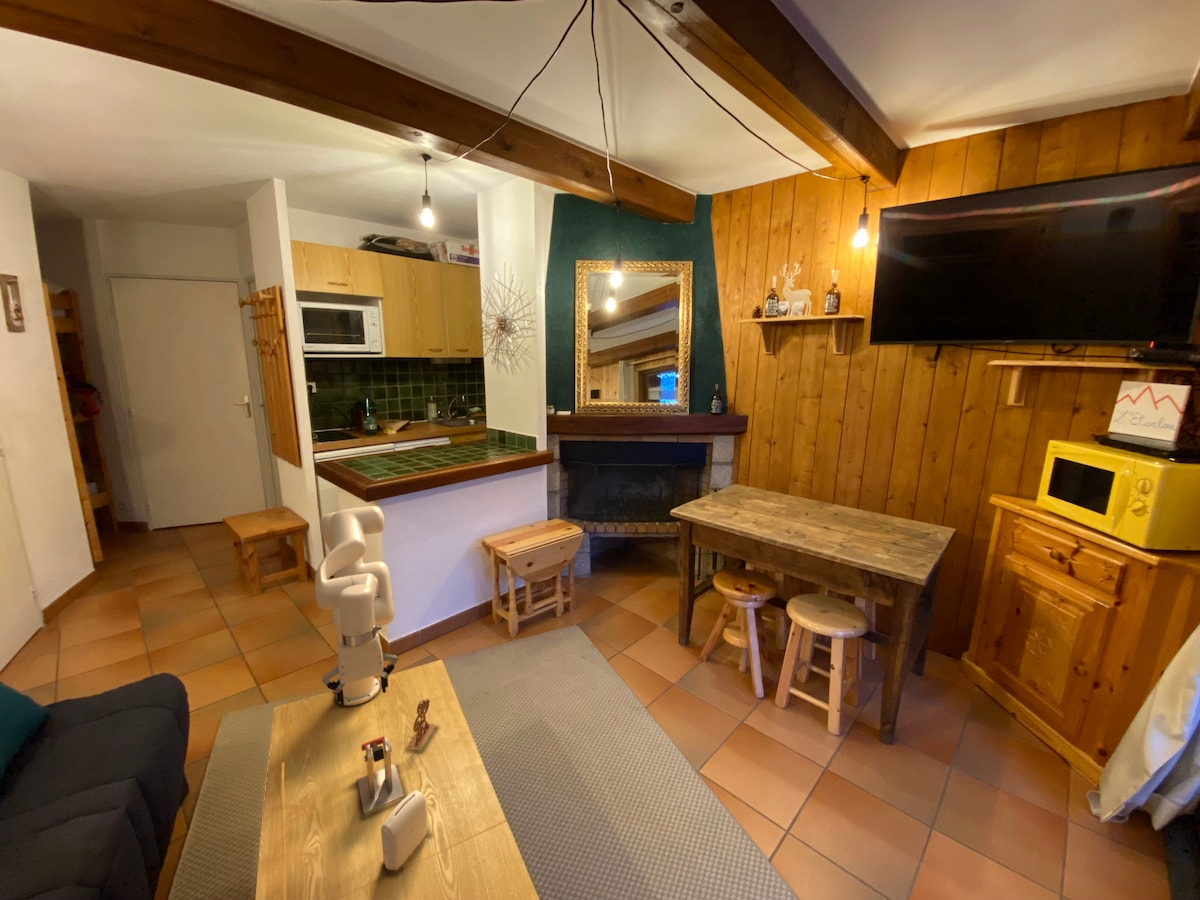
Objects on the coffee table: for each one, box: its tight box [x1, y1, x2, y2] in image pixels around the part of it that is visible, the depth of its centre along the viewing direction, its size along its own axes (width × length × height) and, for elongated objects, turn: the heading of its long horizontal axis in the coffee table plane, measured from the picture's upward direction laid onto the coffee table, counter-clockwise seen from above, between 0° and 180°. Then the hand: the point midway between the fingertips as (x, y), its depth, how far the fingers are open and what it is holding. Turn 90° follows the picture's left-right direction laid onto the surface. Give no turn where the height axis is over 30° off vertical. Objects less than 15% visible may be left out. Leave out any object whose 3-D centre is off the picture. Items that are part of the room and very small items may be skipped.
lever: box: [360, 735, 385, 763], centre depth 122 cm, size 12×6×2 cm, turn 34°
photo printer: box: [380, 789, 428, 871], centre depth 105 cm, size 10×4×12 cm, turn 156°
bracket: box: [357, 737, 405, 815], centre depth 119 cm, size 11×9×13 cm
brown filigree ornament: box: [408, 698, 436, 749], centre depth 136 cm, size 9×4×12 cm, turn 171°
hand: (363, 696), depth 122 cm, fingers open, 9 cm apart
